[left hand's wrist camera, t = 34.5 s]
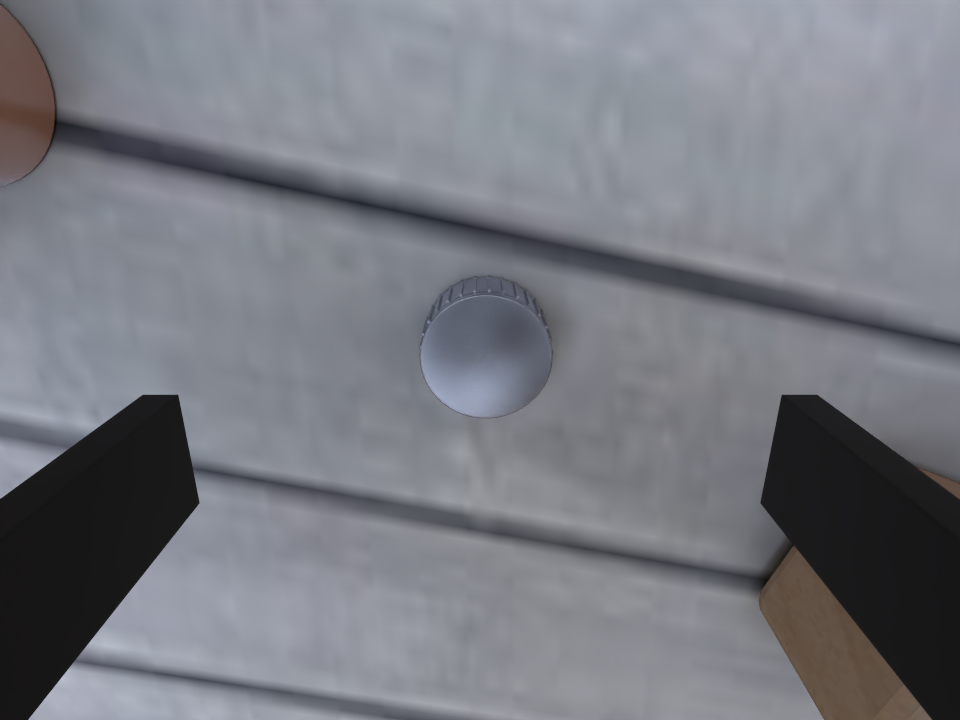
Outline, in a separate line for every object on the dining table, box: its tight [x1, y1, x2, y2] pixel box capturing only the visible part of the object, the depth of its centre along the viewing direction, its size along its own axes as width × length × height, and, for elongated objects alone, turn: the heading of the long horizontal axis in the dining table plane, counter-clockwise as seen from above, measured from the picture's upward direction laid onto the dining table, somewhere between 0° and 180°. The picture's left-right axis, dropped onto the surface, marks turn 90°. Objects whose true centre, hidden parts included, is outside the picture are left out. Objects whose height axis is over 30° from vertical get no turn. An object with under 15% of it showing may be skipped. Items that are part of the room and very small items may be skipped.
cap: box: [419, 275, 553, 418], centre depth 18 cm, size 4×4×2 cm
